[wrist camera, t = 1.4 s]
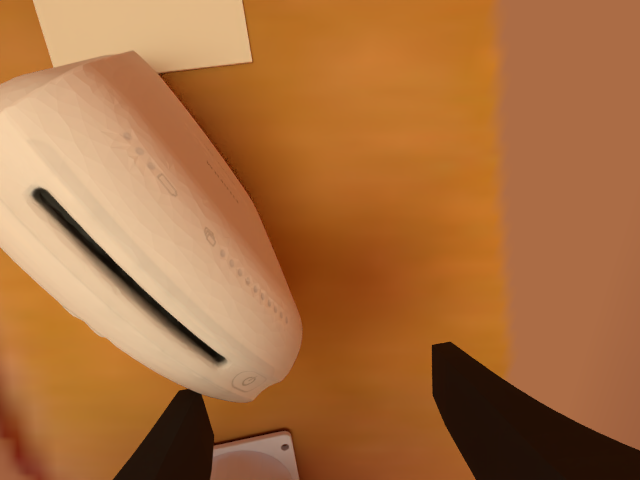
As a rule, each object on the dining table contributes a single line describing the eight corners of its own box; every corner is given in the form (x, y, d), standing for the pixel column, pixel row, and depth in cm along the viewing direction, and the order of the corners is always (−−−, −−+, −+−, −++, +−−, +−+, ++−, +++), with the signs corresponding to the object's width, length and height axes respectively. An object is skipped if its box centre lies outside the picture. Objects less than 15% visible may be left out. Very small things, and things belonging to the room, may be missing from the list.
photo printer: (268, 215, 21) (346, 385, 11) (204, 258, 21) (219, 468, 11) (136, 31, 16) (32, 14, 5) (49, 88, 16) (-222, 181, 5)
